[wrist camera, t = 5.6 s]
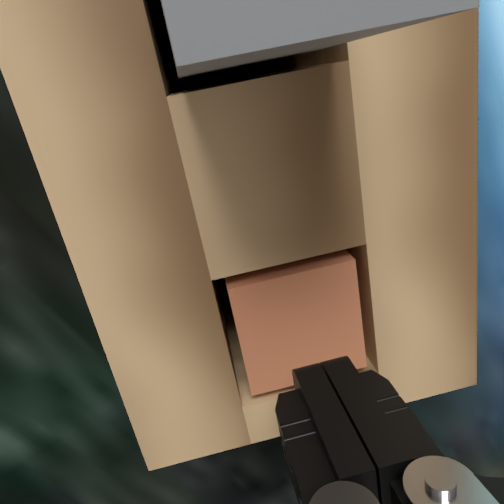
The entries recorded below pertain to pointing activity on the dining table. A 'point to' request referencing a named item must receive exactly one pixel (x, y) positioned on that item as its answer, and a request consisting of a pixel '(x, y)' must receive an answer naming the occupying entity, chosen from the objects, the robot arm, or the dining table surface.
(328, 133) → the oak block
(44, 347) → the dining table surface
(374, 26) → the peg grey
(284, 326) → the peg terracotta
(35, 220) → the dining table surface
